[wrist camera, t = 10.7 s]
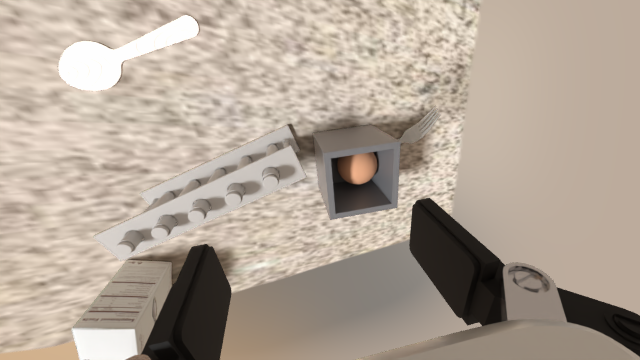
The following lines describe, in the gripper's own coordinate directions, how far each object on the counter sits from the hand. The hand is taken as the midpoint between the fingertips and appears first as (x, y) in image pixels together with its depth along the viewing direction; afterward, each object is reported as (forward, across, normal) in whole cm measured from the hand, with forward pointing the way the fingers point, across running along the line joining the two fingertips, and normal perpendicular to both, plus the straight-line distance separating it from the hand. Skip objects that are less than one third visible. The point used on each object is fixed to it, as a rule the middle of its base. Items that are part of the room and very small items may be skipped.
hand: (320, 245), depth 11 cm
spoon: (+29, +18, -11) cm, 35 cm away
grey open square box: (+27, -8, +8) cm, 29 cm away
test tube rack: (+28, +12, +6) cm, 31 cm away
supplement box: (+27, +30, +24) cm, 47 cm away
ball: (+23, -9, +8) cm, 26 cm away
